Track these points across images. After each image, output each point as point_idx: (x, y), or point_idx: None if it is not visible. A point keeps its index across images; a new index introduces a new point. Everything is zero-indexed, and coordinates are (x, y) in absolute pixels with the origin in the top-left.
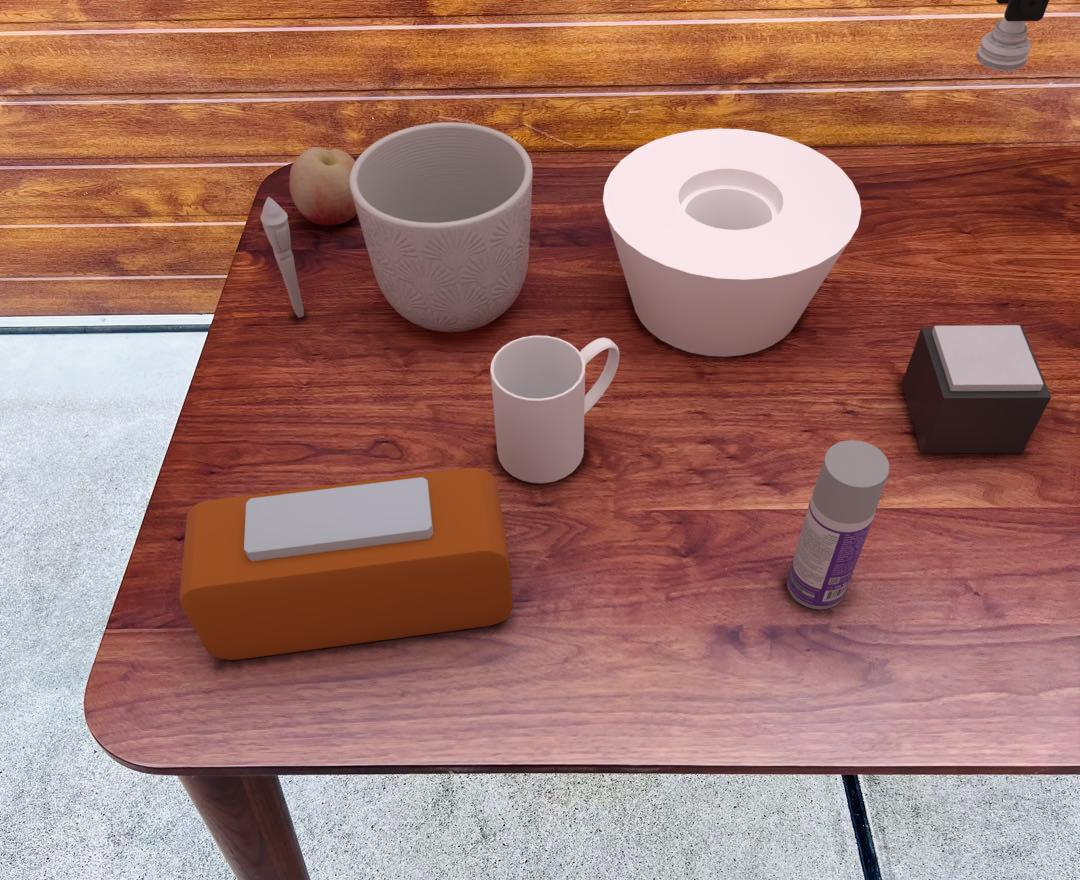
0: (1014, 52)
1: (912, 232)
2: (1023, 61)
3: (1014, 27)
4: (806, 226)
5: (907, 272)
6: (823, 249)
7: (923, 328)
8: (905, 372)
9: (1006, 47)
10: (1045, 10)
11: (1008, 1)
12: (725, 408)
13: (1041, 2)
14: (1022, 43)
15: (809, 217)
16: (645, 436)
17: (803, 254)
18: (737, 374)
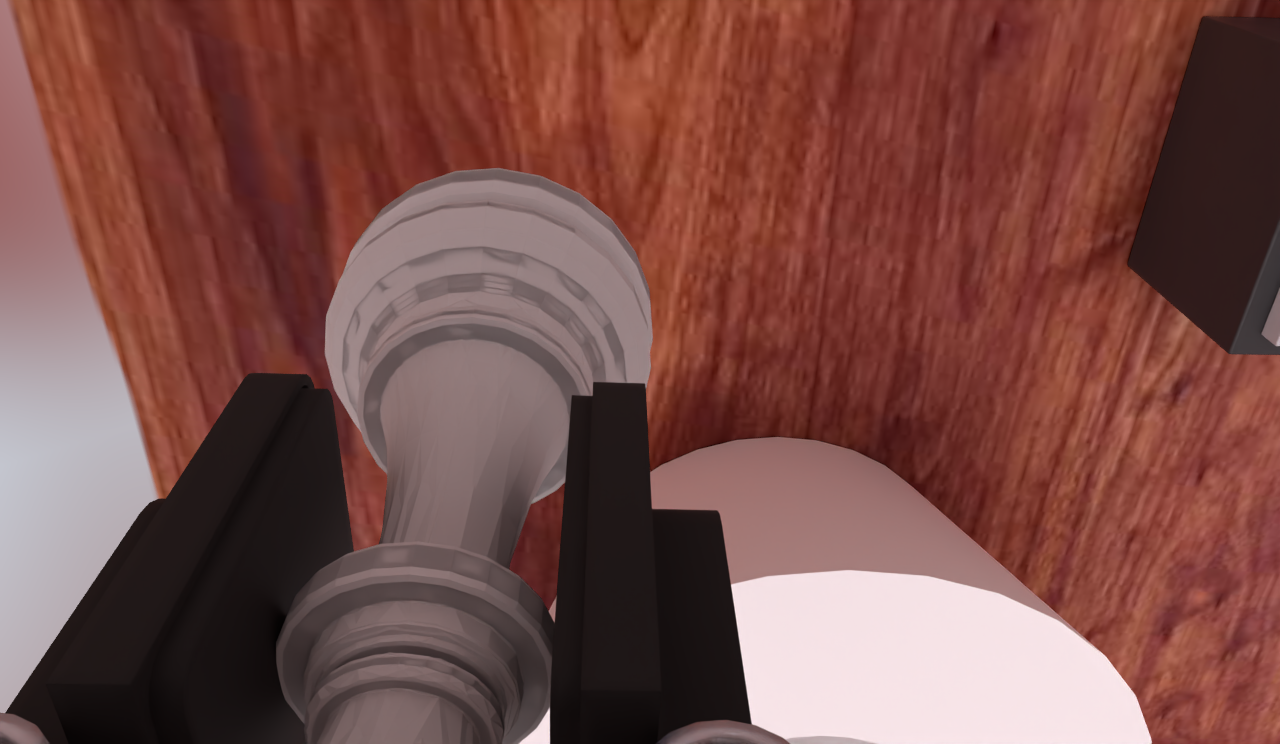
0: (642, 360)
1: (489, 94)
2: (615, 240)
3: (554, 454)
4: (967, 703)
5: (688, 154)
6: (1077, 678)
7: (1237, 351)
8: (1148, 283)
9: None
10: (642, 415)
11: (346, 553)
12: (1090, 598)
13: (724, 567)
14: (583, 322)
15: (925, 691)
16: None
17: (1084, 719)
18: None
